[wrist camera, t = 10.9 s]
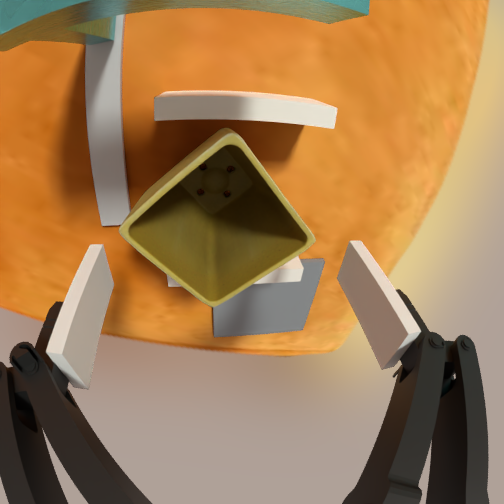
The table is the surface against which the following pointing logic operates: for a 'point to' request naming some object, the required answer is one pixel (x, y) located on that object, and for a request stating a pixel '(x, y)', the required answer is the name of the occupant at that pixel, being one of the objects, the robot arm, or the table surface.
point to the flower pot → (216, 221)
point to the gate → (118, 3)
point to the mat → (269, 305)
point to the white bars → (172, 108)
